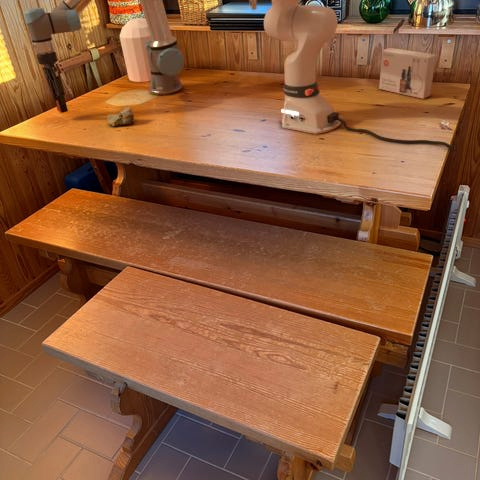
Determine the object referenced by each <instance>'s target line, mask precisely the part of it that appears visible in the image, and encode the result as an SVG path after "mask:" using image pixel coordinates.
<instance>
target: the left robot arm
mask: <svg viewBox="0 0 480 480" xmlns="http://www.w3.org/2000/svg"><path fill="white" fill-rule="evenodd" d="M93 1H94V0H62V1H61V2H60V3H59V4H58V5H57V6H55V7H54V8H53V9H52V10H51V12H46V11H45V9H44V8H43V7H32V8H31V7H30V8H27V9H24V11H23V17H24V21H25V24H26V27H27V30H28V34H29V37H30V40H31V44H32V45H31V47H32V49H34V53H36V55H35V56H36V60H37V62H38V64H39V65H42V66H43V67H42V71H43V73H44V76H45V79H46V82H47V85H48V89H49V92H50V93H51V95H52V97H53V99H54V102H55V105H56V109H57V111H58V112H59V109H58V106H57V103H56V101H57V100H58V103H59V106H60V110H61V114H64V113H67V112H69V109H68V106H67V102H66V98H65V96H66V92H65V89H64V84H63V81H62V77H61V72H60V71H59V70H58V68H57V66H56V65H55V63H57V62H58V61H59V59H58V55H57V51H56V47H55V43H54V40H53V37H52V35H57V34H64V33H65V34H66V33H74V32H77V31H81V30H82V23H81V18H80V14H82V12H83V11H84V10H85V9H86V8H87V7H88V6H89V5H90V4H91V3H92V2H93ZM139 1H140V4H141V8H142V11H143V15H144V18H146V22H147V25H148V29H149V32H150V35H151V39H152V40H148V41H146V43H145V44H146V51H147V56H148V61H149V67H150V72H151V81H149V92H150V94H151V95H155V96H167V95H172V94H176V93H179V92H180V91H182V90H183V84H182V82H181V80H180V77H179V76H178V74H180V73H181V72H182V71H183V69H184V66H185V57H184V55H183V52H182V51H181V50H180V48H179V43H178V40H177V37H175V36H173V35H172V32H171V28H170V24H169V20H168V17H167V12H166V9H165V5H164V1H163V0H139Z"/></svg>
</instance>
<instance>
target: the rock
mask: <svg viewBox="0 0 480 480" xmlns="http://www.w3.org/2000/svg"><path fill="white" fill-rule="evenodd" d="M134 121H135V114H134V113H133V110H132V108H131V107H128V106H127V107H125V108H123V109H121V110H119V113H117V114H108V115H107V123H108V125H109V126H110V127H118V126H119V127H120V126H126V125H131V124H132V123H134Z"/></svg>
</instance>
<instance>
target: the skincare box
mask: <svg viewBox="0 0 480 480" xmlns="http://www.w3.org/2000/svg"><path fill="white" fill-rule="evenodd" d="M436 57H437V54H435V53H427V52H423V51H422V52H420V51H413V50H407V49H400V48H395V47H394V48H393V47H387V48H385V49H382V50H381V61H380V74H379V86H378V87H379V88H378V89H379V90H383V91H387V92H391V93H395V94H399V95H405V96H409V97H414V98H418V99H422V100H424V99H426V98H428V97H430V96H431V91H432V86H433V85H432V84H433V78H434V73H435V72H434V71H435V70H434V69H435V64H436Z"/></svg>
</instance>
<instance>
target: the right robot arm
mask: <svg viewBox="0 0 480 480" xmlns="http://www.w3.org/2000/svg"><path fill="white" fill-rule="evenodd" d="M257 2H258V0H249V6H250V7H251V10H252V11H255V10H257ZM301 2H302V0H271V7H270V8H268V10H267V11H266V13H265V15H264V17H263V28H264V32H265V34H266V35H267V37H269V38H271V39H274V40H277V41H281V42H297V50H296V51H294V52H292V53H290V54H288V56H287V57H286V58H285V60H284V62H283V67H284V68H283V70H284V82H283V89H282V90H283V94H284V103H283V109H281V113H282V116H281V120H280V121H281V128H282V129H288V130H292V131H298V132H303V133H309V134H313V135H314V134H315V135H319V134H324V133H328V132H331V131H332V130H335V129H337V128H338V127H339V126H340V125H341V124H342V125H343V128H344V129H345V130H347V131H349V132H356V133H366V134H368V135H370V136H373V137H374V138H376V139H379V140H381V141H386V142H391V143H398V144H428V145H439V146H444V147H446V148H447V149H448V150H449V151H450V152H451V153H453V152H455V149H454V148H453V146H452V145H451V144H450V143H447V142H445V141H439V140H429V139H411V140H410V139H397V138H390V137H385V136H382V135H378V134H376V133H375V132H373V131H371V130H368V129H366V128H365V129H364V128H352V127H349V126H348V125H347V122H346V121H345V120H344V119H342V118H340V117H339V116H340V113H339V112H337V111H335V110H334V109H335V108H334V106H333V105H332V104H331V103H330V102H329V101H328V100H327V99H326V98H325V97H324V96H323V95H322V94H321V93H320V90H321V89H322V86H323V85H322V84H320V85H319V84H318V81H317V63H318V57H319V54H320V52H321V50H322V48H323V47H324V46H325V44H326V43H327V42H329V41H330V40H331V39H332V38H333V37H334V35H335V34H336V32H337V29H338V17H337V16H338V15H337V14H336V12H335V11H334V9H333V8H331V7H327V6H324V5H318V4H317V5H311V4H310V5H309V4H307V5H306V4H305V5H304V4H300V3H301ZM453 201H454V197H453V198H451V199H450V200H448V205H447V209H446V214H445V218H444V222H443V227H442V231H441V236H440V241H439V248H440V249H442V248H443V247H444V241H445V236H446V232H447V227H448V223H449V218H450V214H451V209H452V206H453Z"/></svg>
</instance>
